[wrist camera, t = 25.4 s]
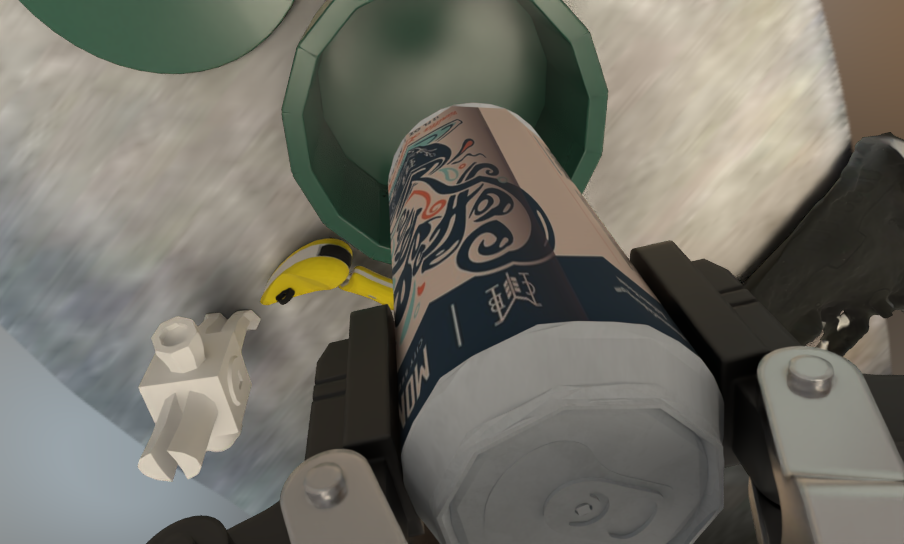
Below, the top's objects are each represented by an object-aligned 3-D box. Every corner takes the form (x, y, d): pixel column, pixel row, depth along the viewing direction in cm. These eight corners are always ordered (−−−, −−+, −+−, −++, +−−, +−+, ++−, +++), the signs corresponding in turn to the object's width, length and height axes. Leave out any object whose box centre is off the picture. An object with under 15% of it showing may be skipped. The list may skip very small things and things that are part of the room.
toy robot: (243, 247, 34) (185, 394, 24) (276, 357, 38) (239, 524, 28) (171, 256, 34) (81, 409, 24) (212, 366, 38) (150, 537, 28)
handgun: (796, 460, 48) (825, 496, 45) (633, 387, 42) (654, 423, 39) (1031, 243, 40) (1085, 270, 37) (870, 119, 34) (918, 138, 31)
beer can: (423, 71, 17) (498, 325, 7) (574, 132, 18) (835, 422, 8) (366, 222, 19) (355, 595, 9) (505, 266, 20) (641, 636, 10)
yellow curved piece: (472, 275, 35) (467, 325, 33) (420, 327, 40) (413, 374, 37) (308, 201, 32) (290, 251, 30) (271, 267, 36) (254, 315, 34)
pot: (500, 230, 35) (527, 302, 29) (277, 162, 32) (252, 227, 25) (602, 4, 30) (665, 31, 23) (345, -106, 26) (335, -110, 20)
